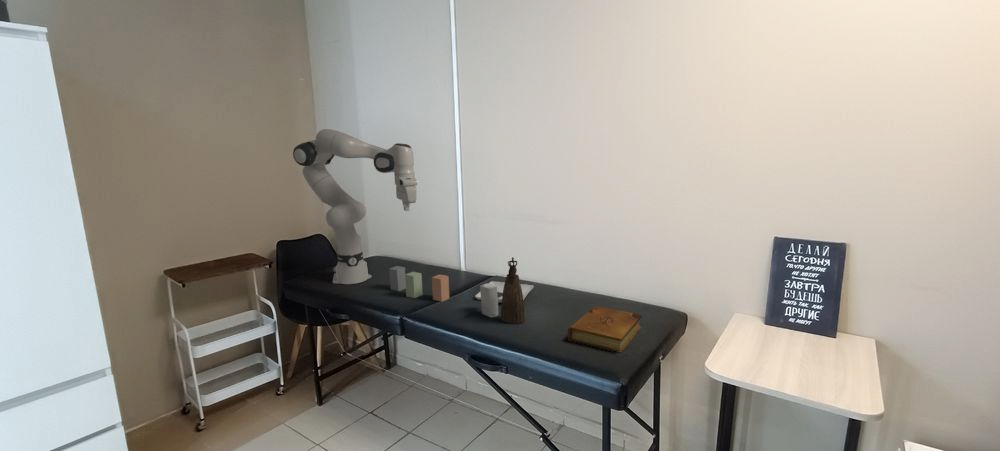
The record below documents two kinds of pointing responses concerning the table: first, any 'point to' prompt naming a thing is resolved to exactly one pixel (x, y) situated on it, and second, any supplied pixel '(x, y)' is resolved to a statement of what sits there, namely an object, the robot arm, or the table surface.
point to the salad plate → (500, 287)
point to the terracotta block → (440, 287)
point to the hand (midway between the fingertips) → (406, 210)
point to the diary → (605, 328)
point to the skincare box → (489, 300)
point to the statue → (512, 298)
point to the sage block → (413, 284)
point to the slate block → (397, 278)
